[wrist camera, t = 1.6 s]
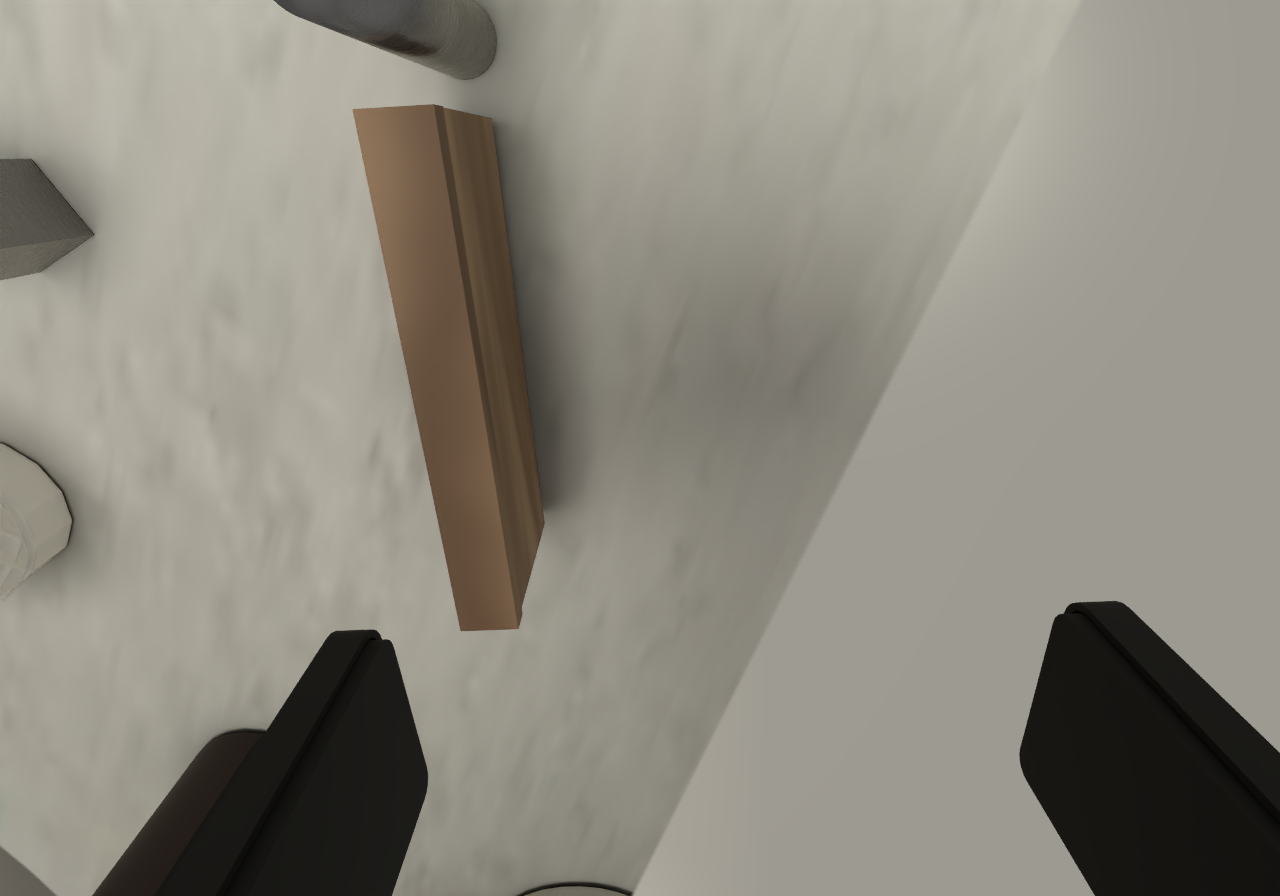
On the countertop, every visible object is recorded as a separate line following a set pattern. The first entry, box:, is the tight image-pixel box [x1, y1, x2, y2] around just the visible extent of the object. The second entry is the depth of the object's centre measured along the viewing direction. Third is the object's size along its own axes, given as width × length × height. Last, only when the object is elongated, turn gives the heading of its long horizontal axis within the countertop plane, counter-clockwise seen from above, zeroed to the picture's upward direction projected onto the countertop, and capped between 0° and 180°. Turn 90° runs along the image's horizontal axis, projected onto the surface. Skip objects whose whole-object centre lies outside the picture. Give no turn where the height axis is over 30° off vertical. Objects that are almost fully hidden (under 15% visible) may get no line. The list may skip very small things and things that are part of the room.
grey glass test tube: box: [274, 0, 496, 79], centre depth 17 cm, size 2×2×11 cm
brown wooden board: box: [353, 104, 544, 631], centre depth 22 cm, size 2×16×7 cm, turn 3°
